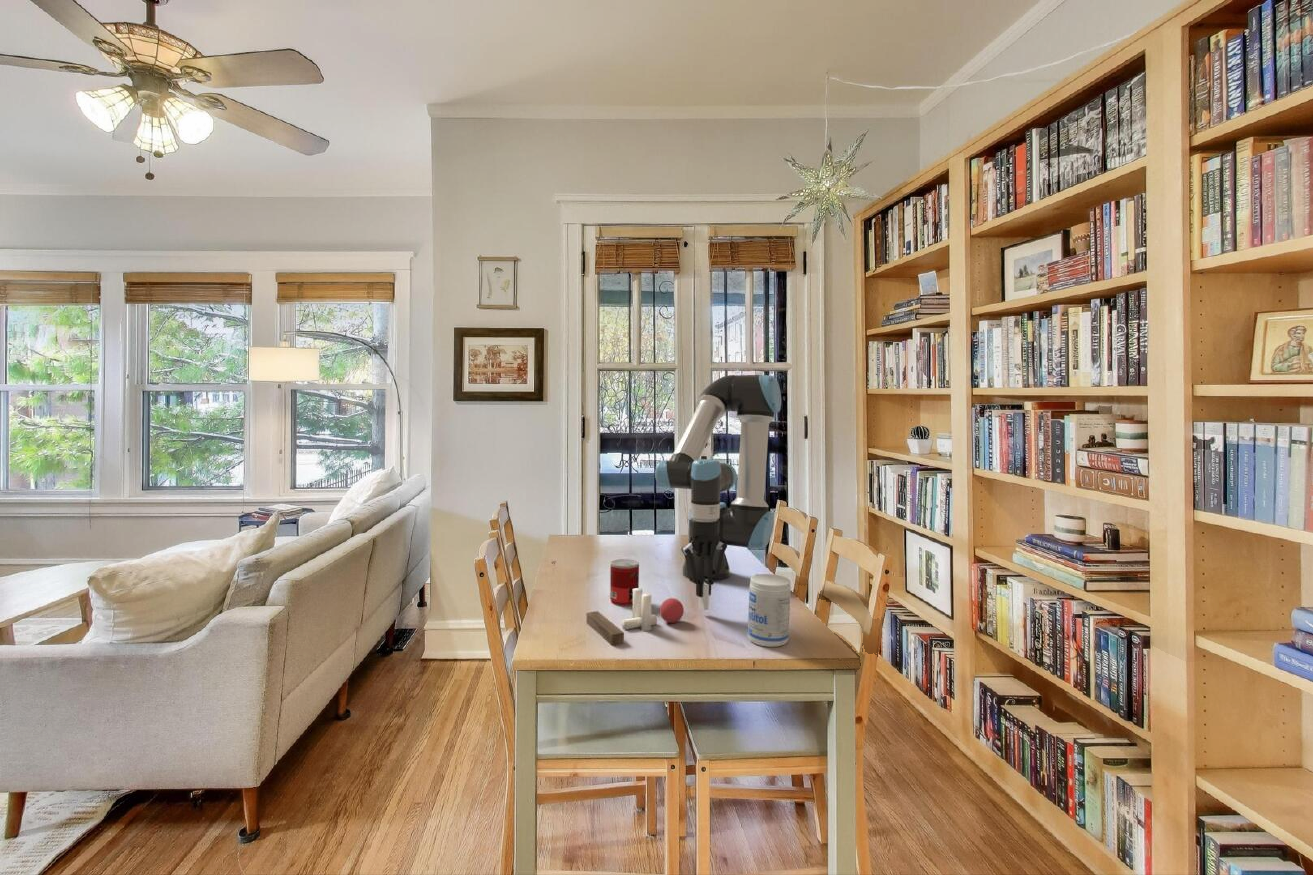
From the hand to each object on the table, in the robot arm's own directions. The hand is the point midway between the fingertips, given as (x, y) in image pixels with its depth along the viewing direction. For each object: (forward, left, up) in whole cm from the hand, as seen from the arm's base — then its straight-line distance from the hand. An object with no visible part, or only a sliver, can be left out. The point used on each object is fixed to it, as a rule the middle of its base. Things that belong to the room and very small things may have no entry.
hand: (703, 608), depth 163 cm
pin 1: (+18, -2, -2) cm, 18 cm away
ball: (+10, +1, +1) cm, 10 cm away
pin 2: (+18, +2, -2) cm, 18 cm away
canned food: (+14, -19, -2) cm, 24 cm away
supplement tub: (-5, +21, -2) cm, 22 cm away
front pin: (+14, 0, -1) cm, 14 cm away
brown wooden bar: (+28, 0, -2) cm, 28 cm away
